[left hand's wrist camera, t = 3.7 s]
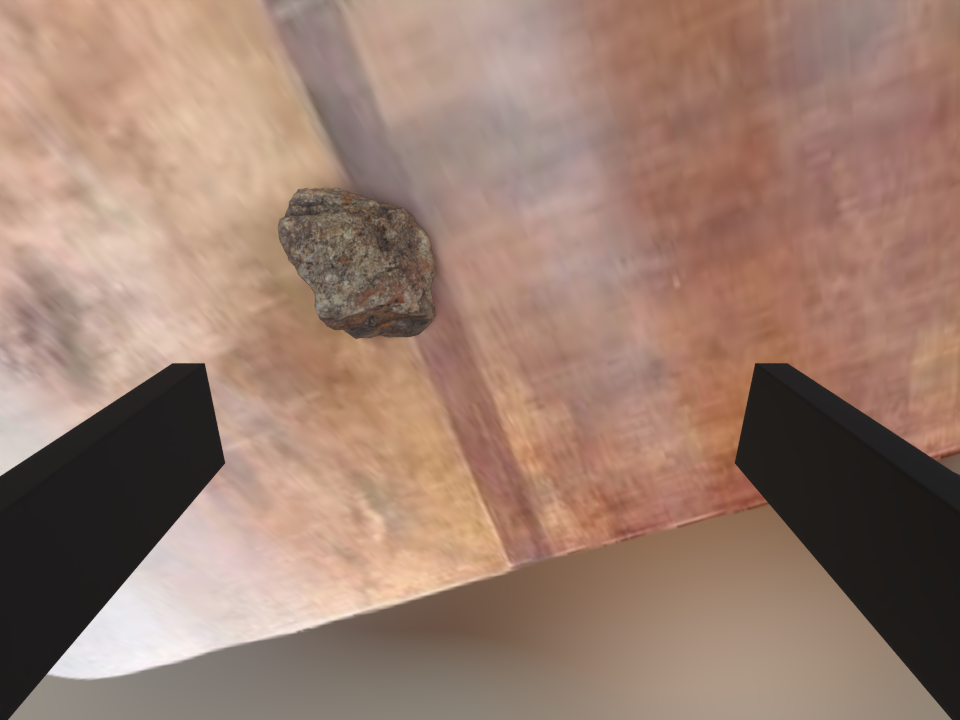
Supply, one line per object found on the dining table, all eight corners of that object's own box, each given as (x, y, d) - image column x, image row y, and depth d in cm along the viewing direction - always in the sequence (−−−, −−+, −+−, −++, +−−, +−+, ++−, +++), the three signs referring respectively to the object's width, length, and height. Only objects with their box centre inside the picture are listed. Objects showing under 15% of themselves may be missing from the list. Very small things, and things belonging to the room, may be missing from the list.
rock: (349, 342, 49) (451, 323, 49) (326, 385, 42) (447, 363, 41) (297, 186, 43) (413, 162, 42) (259, 202, 35) (400, 173, 35)
